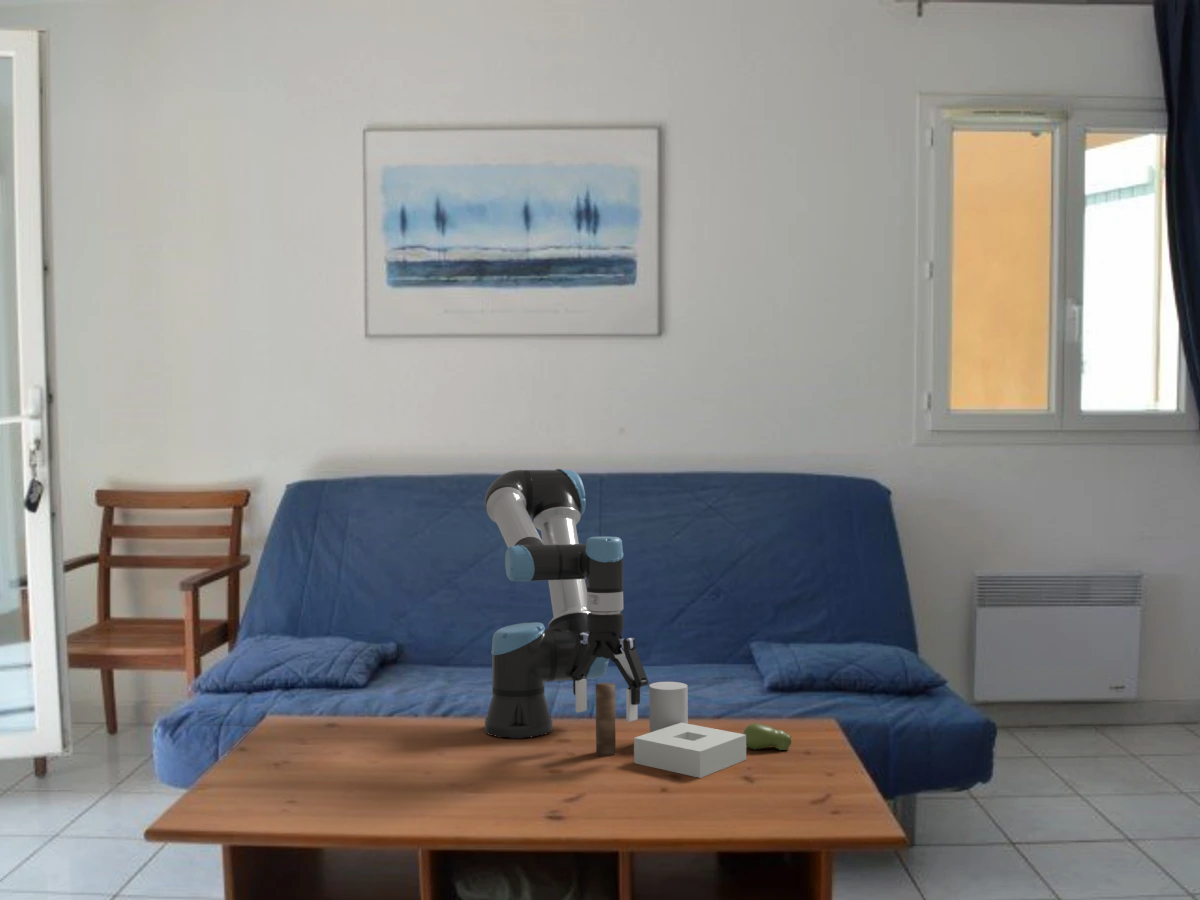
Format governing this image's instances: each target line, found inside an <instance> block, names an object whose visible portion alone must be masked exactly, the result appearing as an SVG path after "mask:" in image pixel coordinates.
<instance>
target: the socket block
mask: <svg viewBox="0 0 1200 900" xmlns="http://www.w3.org/2000/svg"><path fill="white" fill-rule="evenodd" d="M746 760H747V746H746V735H745V734H743V733H739V732H734V731H729V730H723V729H716V728H712V727H706V726H703V725H702V726H701V725H697V724H693V723H691V724H690V723H688V724H687V723H678V724H675V725H672V726H669V727H666V728H663V729H660V730H657V731H654V732H650V731H649V732H647V733H644V734H642V735H639V736H635V737H634V738H633V763H634V764H636V765H637V764H638V765H641V766H646V767H650V768H655V769H658V770H663V771H668V772H671V773H672V772H673V773H677V774H682V775H686V776H689V777H694V778H699V779H701V778H705V777H706V776H709V775H712V774H714V773H716V772H719V771H721V770H724V769H726V768H729V767H731V766H734V765H736V764H739V763H742V762H744V761H746Z"/></svg>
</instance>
